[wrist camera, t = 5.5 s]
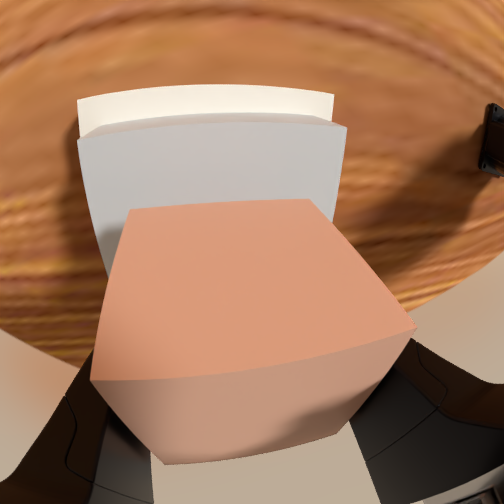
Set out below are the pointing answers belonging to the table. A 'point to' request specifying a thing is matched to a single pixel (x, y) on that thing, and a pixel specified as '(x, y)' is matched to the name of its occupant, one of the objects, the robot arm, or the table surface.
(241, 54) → the table surface
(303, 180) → the tower top
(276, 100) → the tower base
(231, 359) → the cube
